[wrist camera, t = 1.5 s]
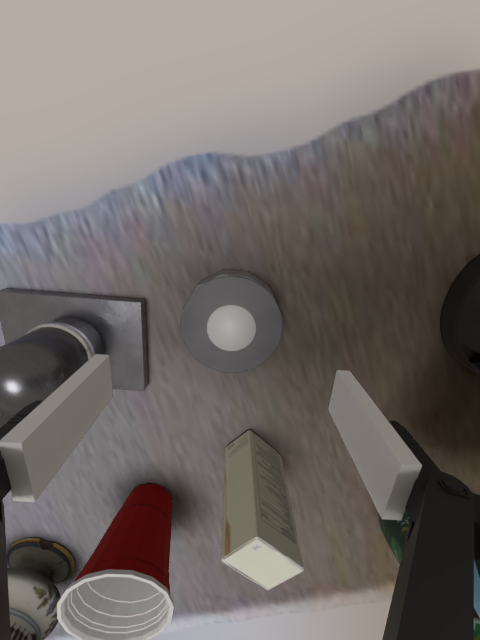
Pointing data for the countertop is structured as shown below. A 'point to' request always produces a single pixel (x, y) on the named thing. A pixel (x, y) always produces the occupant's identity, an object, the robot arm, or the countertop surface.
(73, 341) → the gray flat-based fixture
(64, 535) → the countertop surface
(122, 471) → the countertop surface
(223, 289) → the cap
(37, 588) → the apothecary jar
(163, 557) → the plastic cup
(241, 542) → the skincare box
